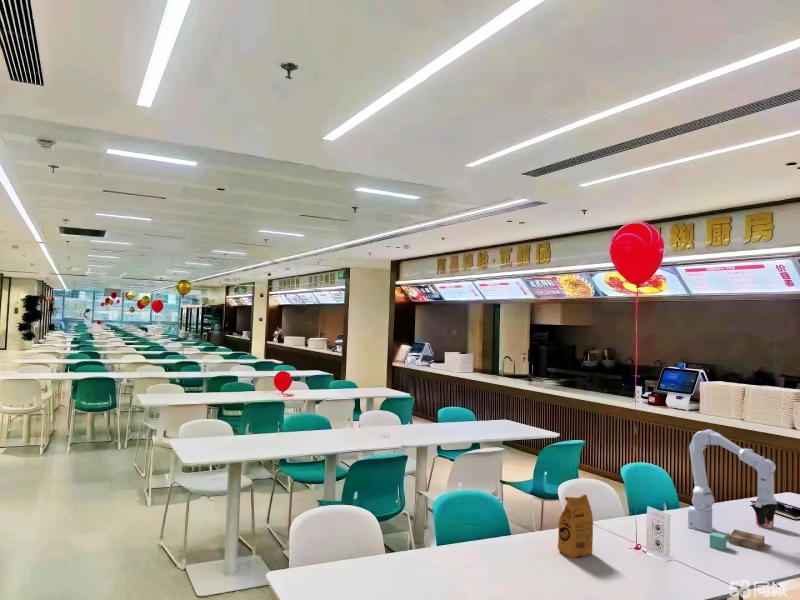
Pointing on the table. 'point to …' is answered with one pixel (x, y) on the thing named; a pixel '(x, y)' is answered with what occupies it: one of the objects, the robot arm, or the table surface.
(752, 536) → the walnut base
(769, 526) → the soda can
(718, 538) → the teal cube
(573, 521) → the coffee package
